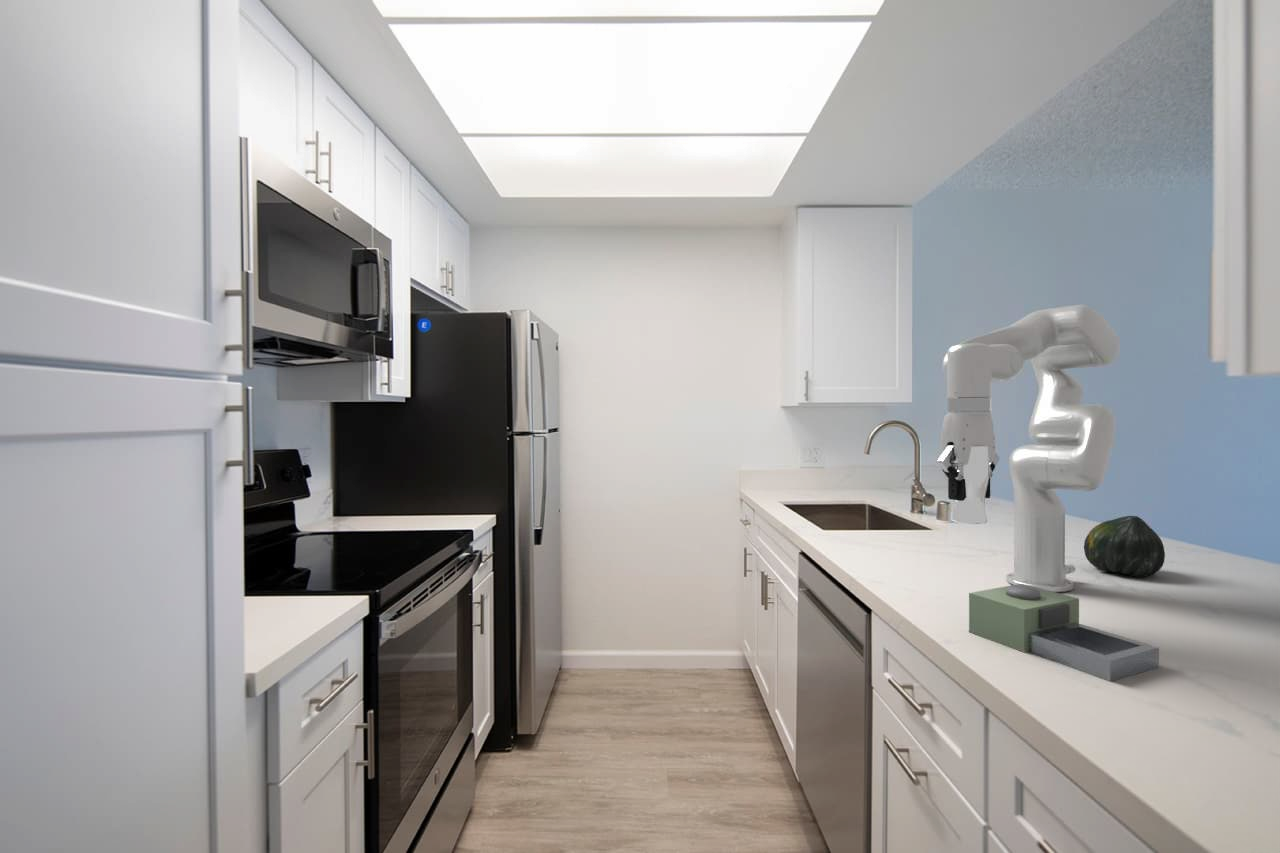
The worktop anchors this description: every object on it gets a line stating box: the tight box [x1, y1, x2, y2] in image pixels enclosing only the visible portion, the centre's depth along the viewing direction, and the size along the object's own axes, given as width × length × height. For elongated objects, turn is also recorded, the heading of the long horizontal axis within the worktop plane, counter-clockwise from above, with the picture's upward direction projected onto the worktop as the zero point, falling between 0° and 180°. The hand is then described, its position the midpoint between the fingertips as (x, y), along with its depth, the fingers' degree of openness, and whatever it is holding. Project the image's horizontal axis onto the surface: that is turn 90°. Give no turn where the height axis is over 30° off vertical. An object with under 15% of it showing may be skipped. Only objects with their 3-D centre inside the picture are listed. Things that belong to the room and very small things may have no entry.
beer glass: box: [949, 445, 989, 525], centre depth 117 cm, size 7×7×15 cm
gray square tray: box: [1028, 622, 1160, 682], centre depth 94 cm, size 12×12×3 cm
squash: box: [1083, 515, 1166, 578], centre depth 143 cm, size 14×15×15 cm
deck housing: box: [968, 584, 1080, 653], centre depth 104 cm, size 14×11×8 cm
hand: (969, 497), depth 117 cm, fingers closed on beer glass, 6 cm apart
